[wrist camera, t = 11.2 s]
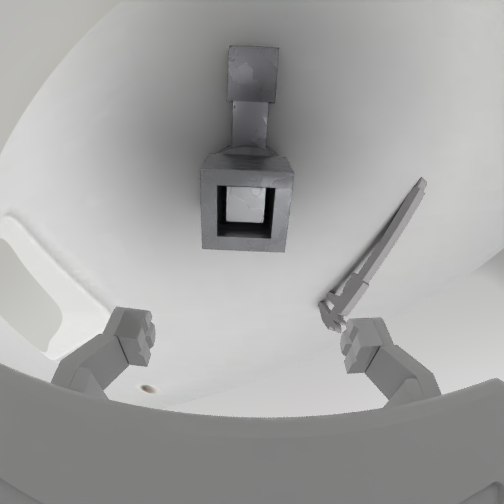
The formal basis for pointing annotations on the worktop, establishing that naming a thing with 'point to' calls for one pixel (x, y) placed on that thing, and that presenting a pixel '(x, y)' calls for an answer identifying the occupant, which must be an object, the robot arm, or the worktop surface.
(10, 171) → the worktop surface
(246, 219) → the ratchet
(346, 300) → the caliper
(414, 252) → the worktop surface
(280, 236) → the grey metal block
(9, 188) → the worktop surface
